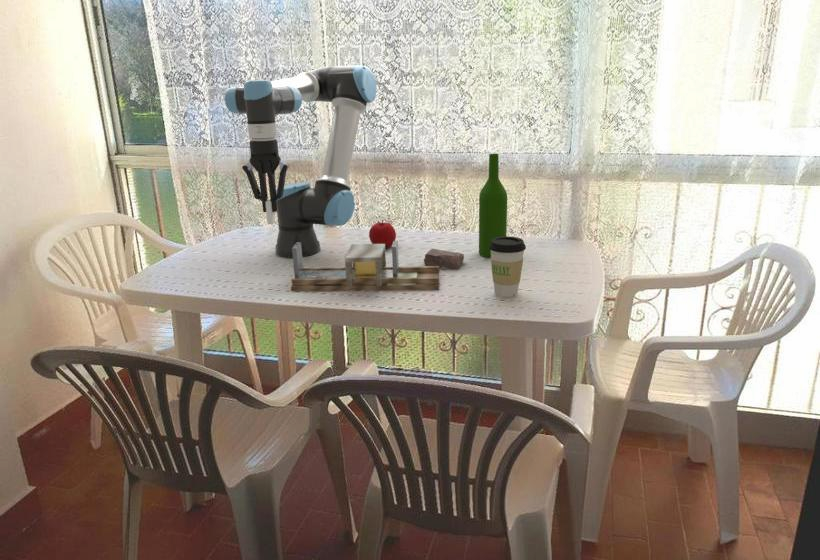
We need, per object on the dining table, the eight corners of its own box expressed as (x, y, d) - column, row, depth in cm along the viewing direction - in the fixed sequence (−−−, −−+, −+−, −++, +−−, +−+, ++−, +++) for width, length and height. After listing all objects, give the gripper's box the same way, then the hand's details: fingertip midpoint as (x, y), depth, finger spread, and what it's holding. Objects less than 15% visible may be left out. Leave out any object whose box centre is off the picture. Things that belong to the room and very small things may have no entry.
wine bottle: (507, 250, 210) (509, 152, 199) (504, 258, 202) (507, 156, 191) (480, 249, 212) (481, 152, 201) (477, 257, 204) (477, 156, 193)
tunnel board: (291, 290, 179) (288, 258, 176) (301, 274, 192) (298, 244, 189) (438, 289, 176) (438, 256, 173) (439, 273, 190) (438, 242, 186)
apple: (398, 243, 222) (397, 216, 218) (393, 251, 213) (392, 222, 210) (373, 243, 223) (371, 215, 220) (367, 250, 215) (365, 222, 212)
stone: (459, 270, 192) (459, 256, 191) (422, 268, 196) (421, 254, 194) (466, 261, 200) (465, 247, 199) (430, 259, 204) (429, 246, 202)
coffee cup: (484, 288, 176) (485, 236, 171) (519, 286, 177) (520, 234, 172) (492, 300, 167) (493, 246, 162) (528, 298, 168) (530, 244, 163)
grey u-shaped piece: (294, 281, 181) (291, 248, 178) (300, 273, 188) (297, 241, 185) (397, 280, 180) (395, 247, 176) (399, 271, 187) (397, 240, 183)
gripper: (235, 141, 169) (245, 226, 176) (283, 140, 168) (290, 226, 176) (243, 138, 176) (252, 220, 183) (289, 137, 175) (296, 219, 183)
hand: (271, 223), depth 179 cm, fingers closed
